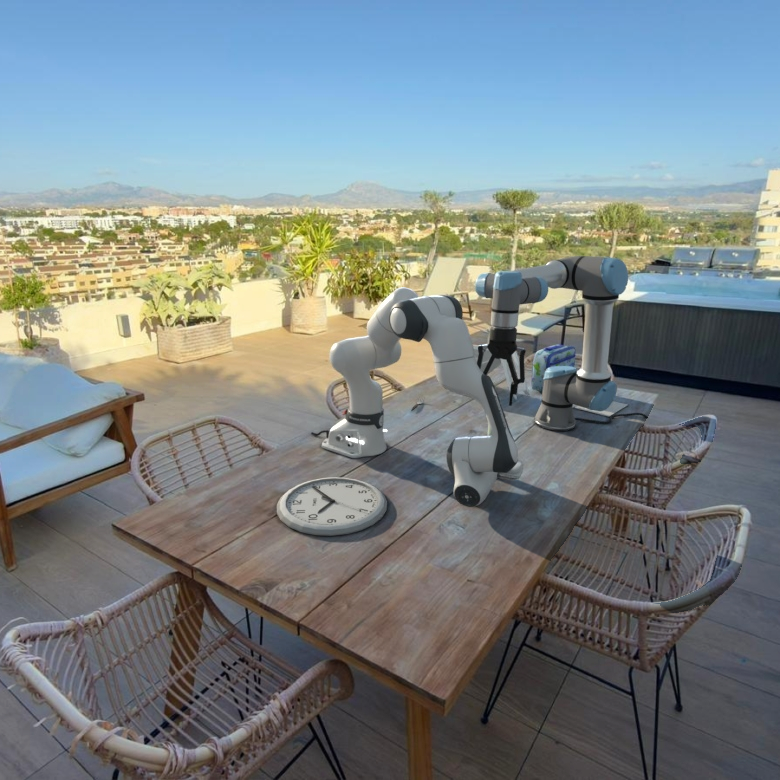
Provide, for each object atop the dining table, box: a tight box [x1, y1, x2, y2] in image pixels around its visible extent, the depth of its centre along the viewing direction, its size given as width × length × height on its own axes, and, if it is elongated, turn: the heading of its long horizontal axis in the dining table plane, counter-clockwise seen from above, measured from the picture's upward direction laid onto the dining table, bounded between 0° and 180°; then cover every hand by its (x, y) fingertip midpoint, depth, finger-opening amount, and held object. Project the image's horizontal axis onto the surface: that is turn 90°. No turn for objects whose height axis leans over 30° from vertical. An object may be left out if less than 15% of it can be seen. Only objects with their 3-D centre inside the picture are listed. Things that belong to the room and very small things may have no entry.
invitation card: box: [573, 400, 629, 418], centre depth 226 cm, size 21×1×15 cm
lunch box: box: [530, 344, 577, 392], centre depth 247 cm, size 26×11×21 cm, turn 134°
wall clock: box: [276, 476, 388, 537], centre depth 142 cm, size 30×2×30 cm
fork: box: [410, 395, 425, 412], centre depth 222 cm, size 3×16×2 cm, turn 160°
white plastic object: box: [473, 342, 531, 400], centre depth 245 cm, size 37×45×31 cm
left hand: (493, 454), depth 162 cm, fingers closed on jar, 4 cm apart
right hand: (497, 402), depth 156 cm, fingers open, 7 cm apart
